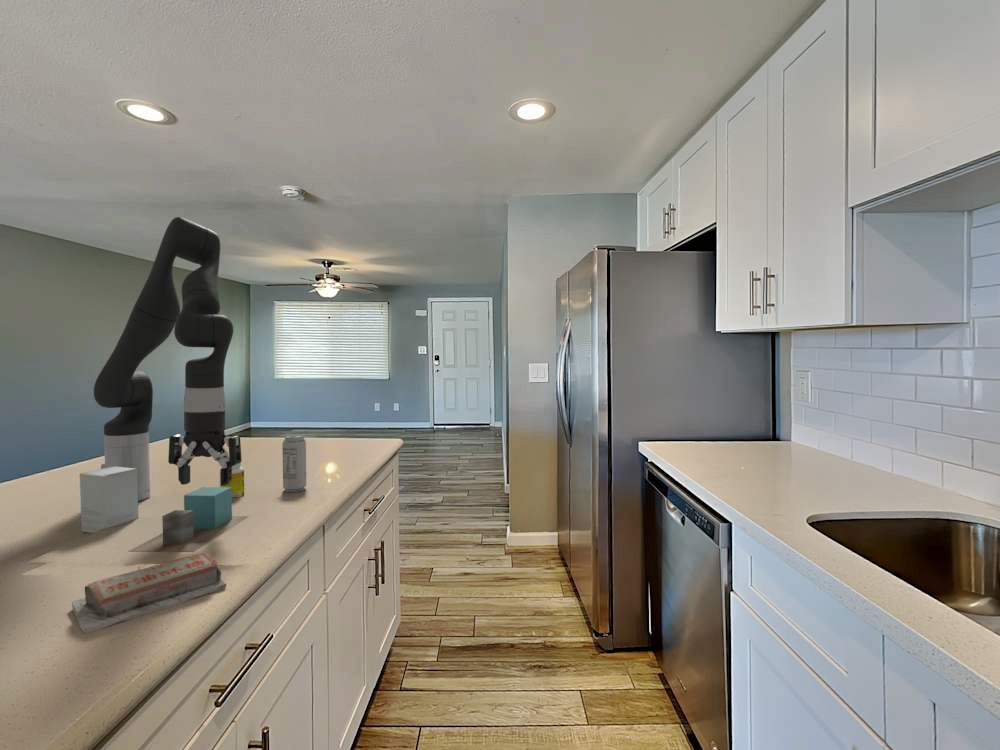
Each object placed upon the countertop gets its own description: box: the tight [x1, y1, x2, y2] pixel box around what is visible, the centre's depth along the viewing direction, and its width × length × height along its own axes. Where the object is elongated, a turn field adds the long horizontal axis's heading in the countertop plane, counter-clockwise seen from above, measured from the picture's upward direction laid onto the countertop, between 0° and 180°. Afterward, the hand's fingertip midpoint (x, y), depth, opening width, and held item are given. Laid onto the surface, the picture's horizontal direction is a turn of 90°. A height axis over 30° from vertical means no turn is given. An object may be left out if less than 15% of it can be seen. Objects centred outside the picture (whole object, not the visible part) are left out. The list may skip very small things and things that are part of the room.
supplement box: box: [79, 466, 139, 534], centre depth 107 cm, size 7×7×13 cm
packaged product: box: [71, 552, 227, 634], centre depth 77 cm, size 18×5×10 cm
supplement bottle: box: [219, 462, 245, 498], centre depth 128 cm, size 6×6×10 cm
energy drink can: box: [282, 434, 307, 493], centre depth 138 cm, size 6×6×15 cm
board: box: [129, 509, 249, 553], centre depth 101 cm, size 12×20×7 cm, turn 0°
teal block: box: [183, 486, 233, 529], centre depth 106 cm, size 6×6×7 cm
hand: (205, 484), depth 105 cm, fingers open, 8 cm apart
